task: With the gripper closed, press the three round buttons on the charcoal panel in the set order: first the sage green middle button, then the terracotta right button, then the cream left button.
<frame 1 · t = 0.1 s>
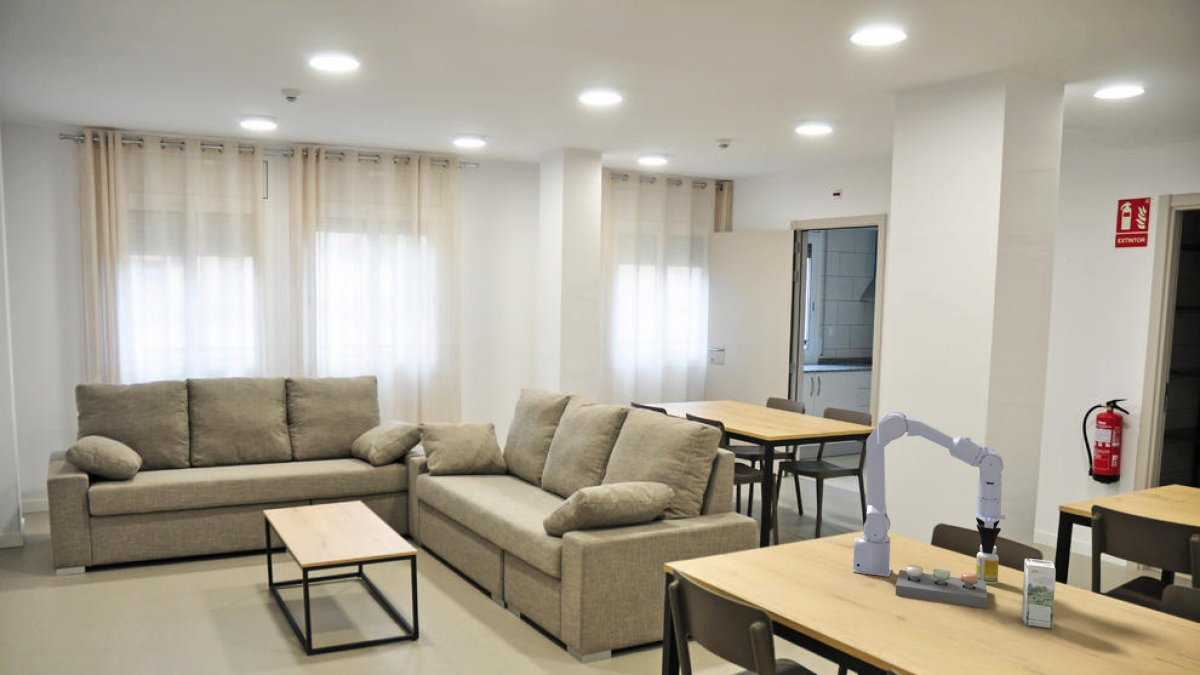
hand: (987, 549, 223), 10 cm above the table, tool pointing down, fingers open, 7 cm apart
button cream: (914, 574, 220), point 4 cm above the table, slide at 0.0 cm
supplement bottle: (986, 582, 228), on the table
panel: (940, 593, 217), on the table
button sage: (941, 578, 217), point 4 cm above the table, slide at 0.0 cm
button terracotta: (969, 582, 215), point 4 cm above the table, slide at 0.0 cm
syrup box: (1037, 624, 197), on the table
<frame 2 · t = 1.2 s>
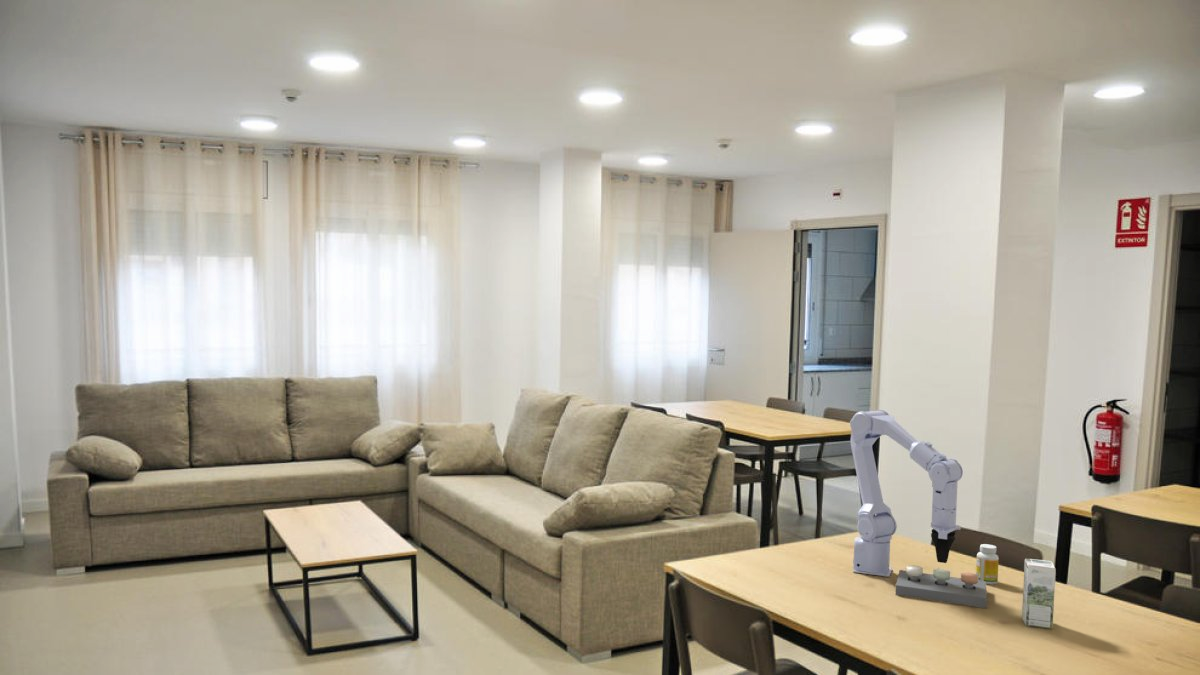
hand: (942, 560, 217), 8 cm above the table, tool pointing down, fingers open, 3 cm apart
nothing on the table moved.
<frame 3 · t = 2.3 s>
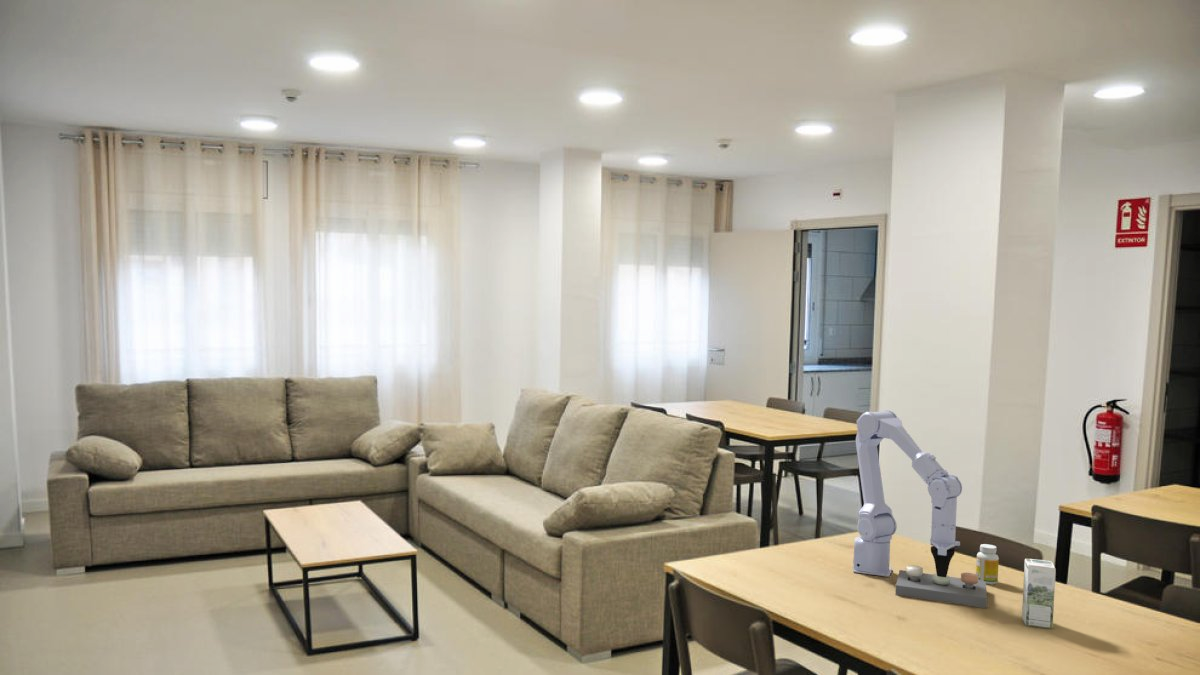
hand: (941, 576, 217), 4 cm above the table, tool pointing down, fingers closed, pressing on button sage
button sage: (941, 583, 217), point 3 cm above the table, slide at 1.2 cm, touching gripper
everything else where it was.
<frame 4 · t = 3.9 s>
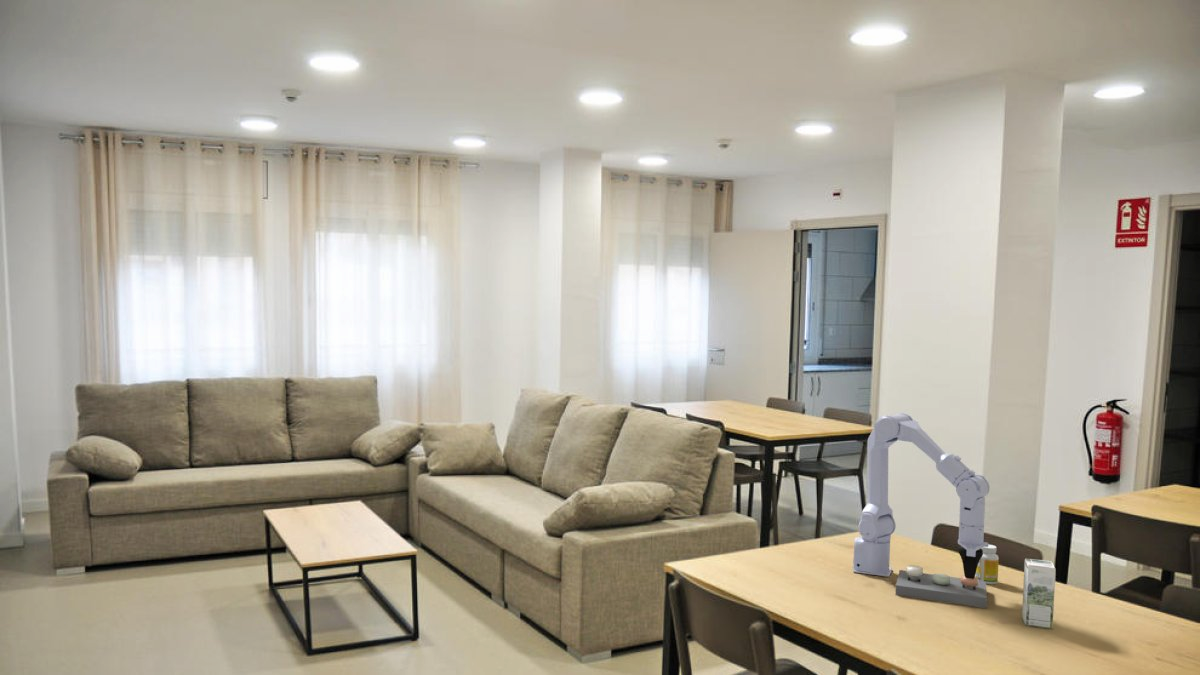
hand: (969, 577, 215), 5 cm above the table, tool pointing down, fingers closed, pressing on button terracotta
button sage: (941, 583, 217), point 3 cm above the table, slide at 1.2 cm
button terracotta: (969, 584, 215), point 3 cm above the table, slide at 0.6 cm, touching gripper
everything else where it was.
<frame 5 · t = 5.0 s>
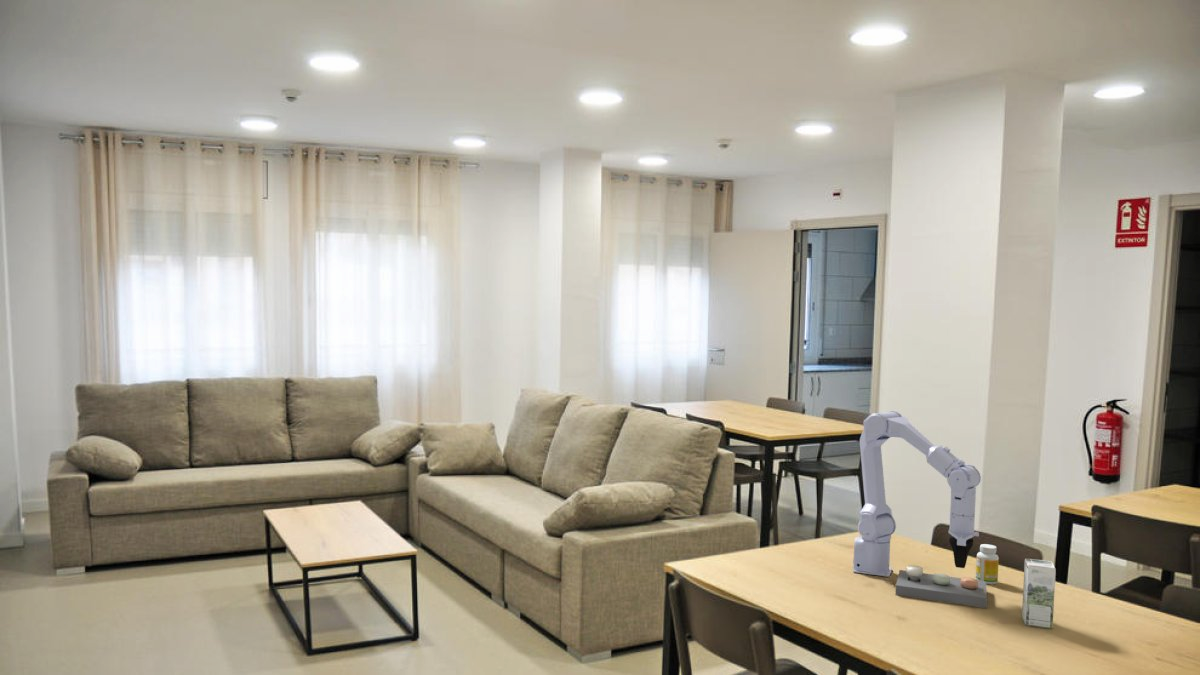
hand: (960, 567, 216), 7 cm above the table, tool pointing down, fingers closed
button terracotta: (969, 586, 215), point 3 cm above the table, slide at 1.2 cm
everything else where it was.
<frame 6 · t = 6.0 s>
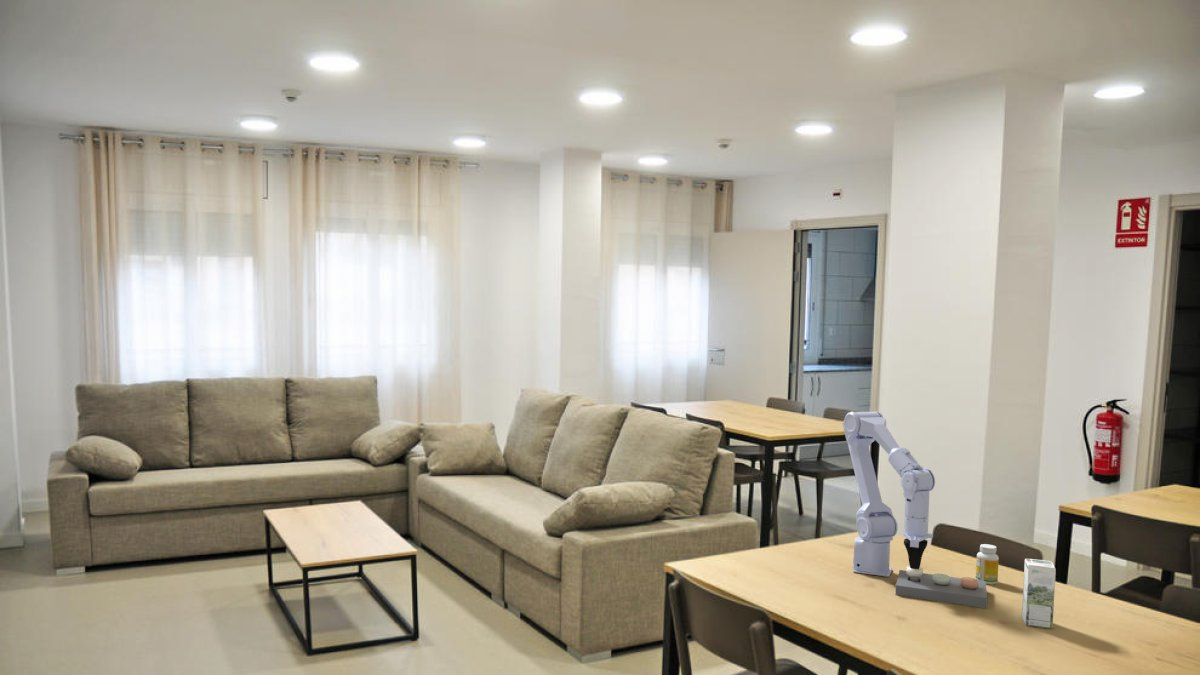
hand: (914, 568, 220), 5 cm above the table, tool pointing down, fingers closed, pressing on button cream
button cream: (914, 574, 220), point 4 cm above the table, slide at 0.1 cm, touching gripper
everything else where it was.
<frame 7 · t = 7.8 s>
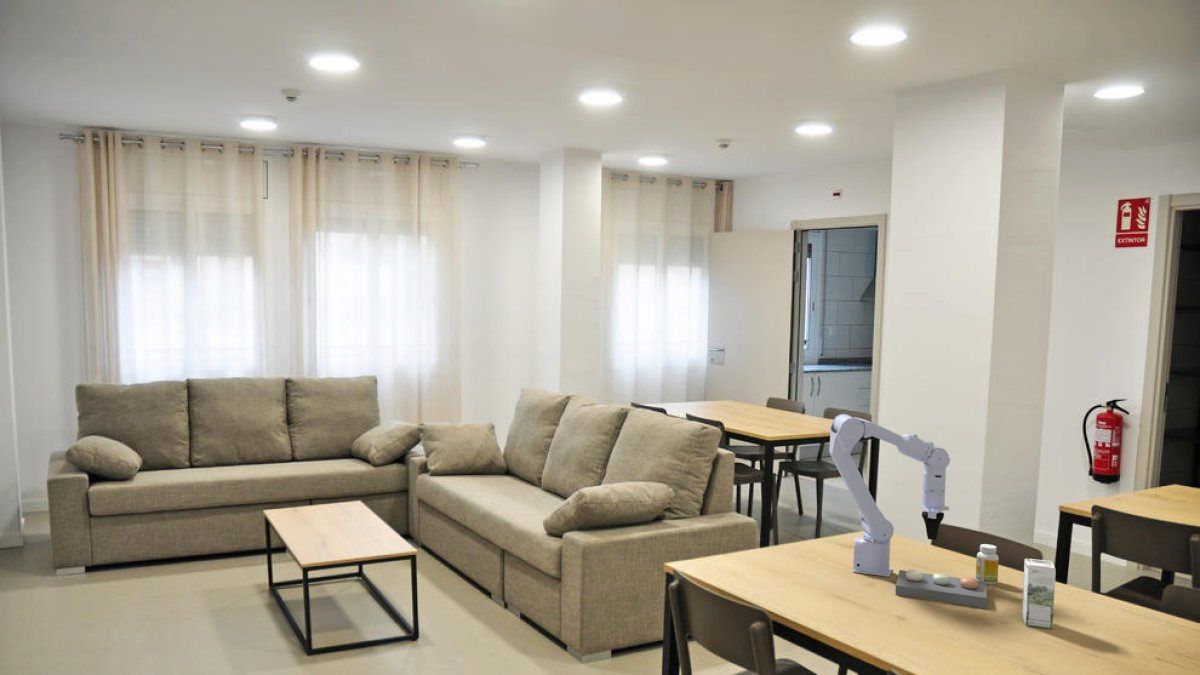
hand: (932, 539, 234), 9 cm above the table, tool pointing down, fingers closed
button cream: (914, 579, 220), point 3 cm above the table, slide at 1.2 cm
everything else where it was.
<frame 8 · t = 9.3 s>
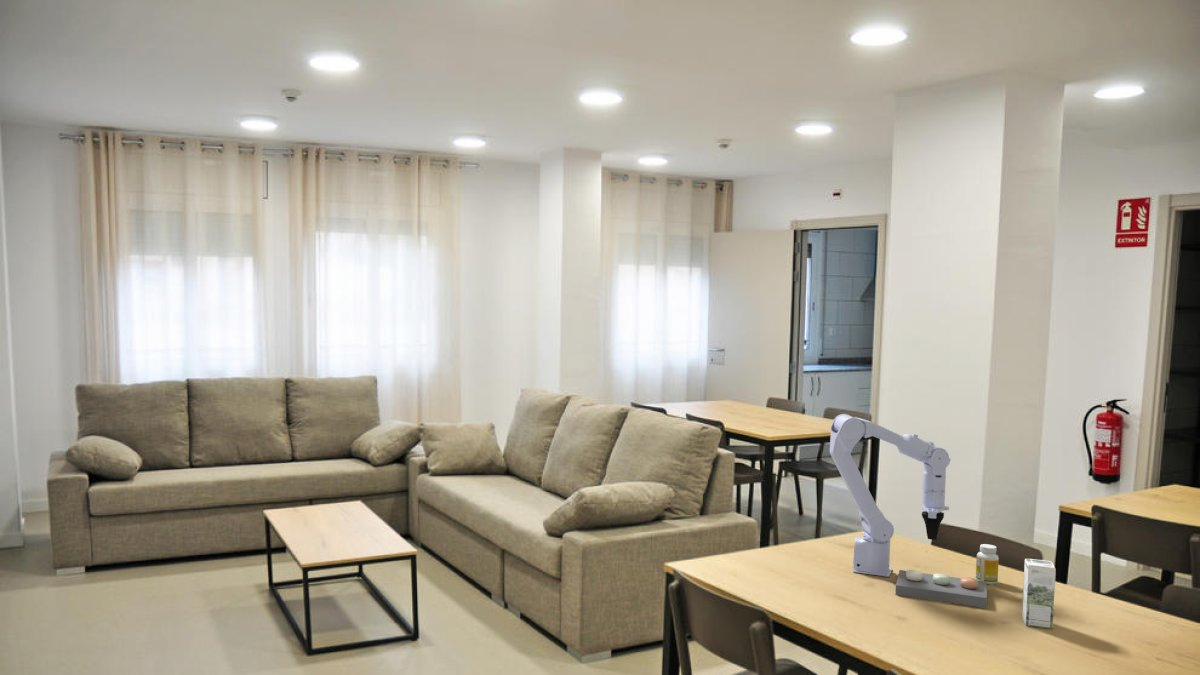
hand: (931, 538, 234), 9 cm above the table, tool pointing down, fingers closed
nothing on the table moved.
at the end: button sage slide at 1.2 cm; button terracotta slide at 1.2 cm; button cream slide at 1.2 cm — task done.
